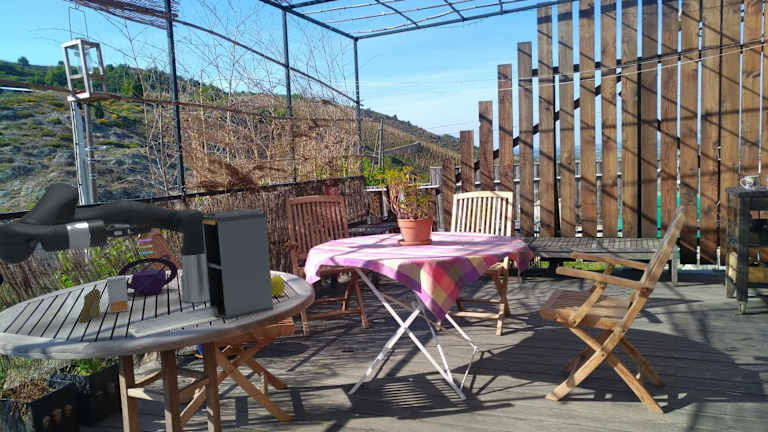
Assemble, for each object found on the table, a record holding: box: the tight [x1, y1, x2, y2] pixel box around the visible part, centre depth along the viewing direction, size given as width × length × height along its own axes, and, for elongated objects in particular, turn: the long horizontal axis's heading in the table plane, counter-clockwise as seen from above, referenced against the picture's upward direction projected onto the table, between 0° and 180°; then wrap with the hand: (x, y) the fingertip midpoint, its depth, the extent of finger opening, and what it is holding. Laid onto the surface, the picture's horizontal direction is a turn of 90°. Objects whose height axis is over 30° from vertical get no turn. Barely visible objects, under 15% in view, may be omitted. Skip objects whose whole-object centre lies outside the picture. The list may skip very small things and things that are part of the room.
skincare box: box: [106, 274, 130, 314], centre depth 188 cm, size 6×4×12 cm
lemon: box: [271, 274, 285, 298], centre depth 196 cm, size 6×6×8 cm
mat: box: [127, 316, 219, 339], centre depth 166 cm, size 24×9×1 cm, turn 129°
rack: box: [202, 208, 274, 320], centre depth 178 cm, size 17×14×33 cm
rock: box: [78, 288, 101, 323], centre depth 180 cm, size 10×8×10 cm
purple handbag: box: [117, 232, 179, 297], centre depth 213 cm, size 22×21×25 cm
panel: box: [134, 306, 218, 333], centre depth 167 cm, size 24×4×2 cm, turn 130°
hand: (146, 227), depth 160 cm, fingers open, 8 cm apart
